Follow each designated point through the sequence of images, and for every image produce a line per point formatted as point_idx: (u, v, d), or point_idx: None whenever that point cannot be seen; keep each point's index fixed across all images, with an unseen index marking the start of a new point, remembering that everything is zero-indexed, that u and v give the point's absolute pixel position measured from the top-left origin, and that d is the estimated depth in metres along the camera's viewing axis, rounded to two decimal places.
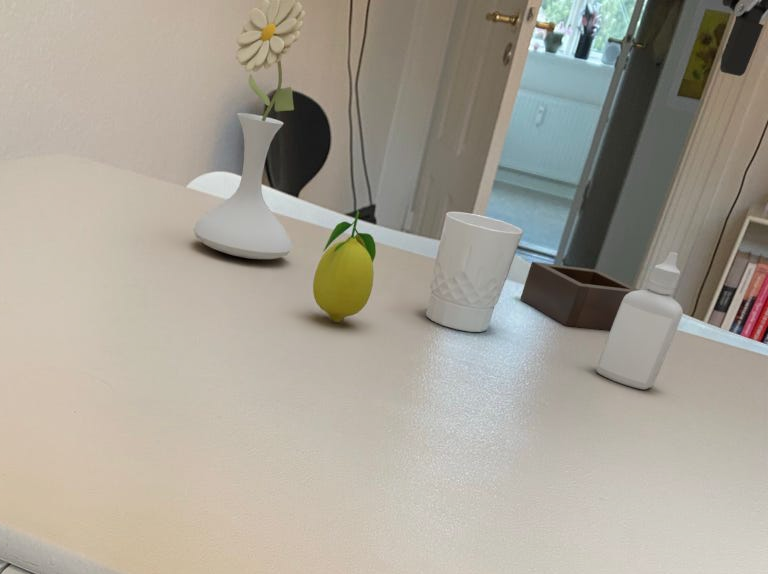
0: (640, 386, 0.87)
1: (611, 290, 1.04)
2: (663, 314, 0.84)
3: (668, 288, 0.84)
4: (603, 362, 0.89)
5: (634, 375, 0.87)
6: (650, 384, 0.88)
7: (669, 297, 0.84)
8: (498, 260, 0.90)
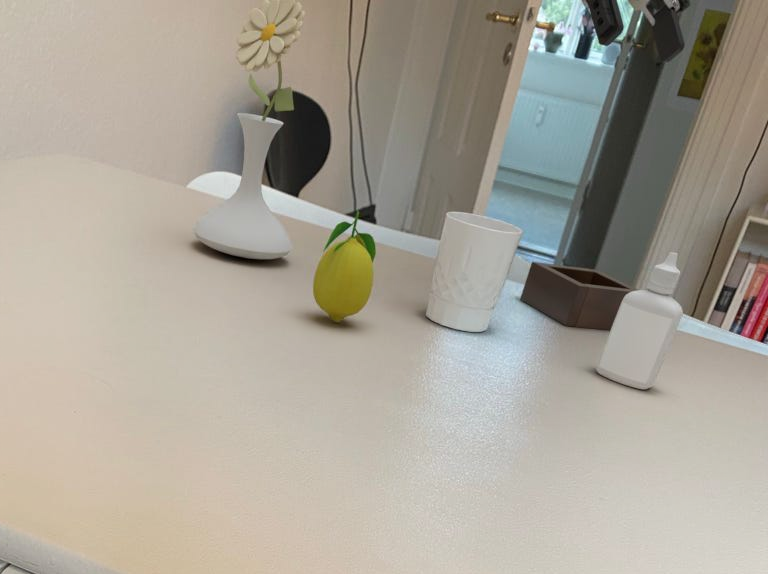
0: (640, 386, 0.87)
1: (611, 290, 1.04)
2: (663, 314, 0.84)
3: (668, 288, 0.84)
4: (603, 362, 0.89)
5: (634, 375, 0.87)
6: (650, 384, 0.88)
7: (669, 297, 0.84)
8: (498, 260, 0.90)
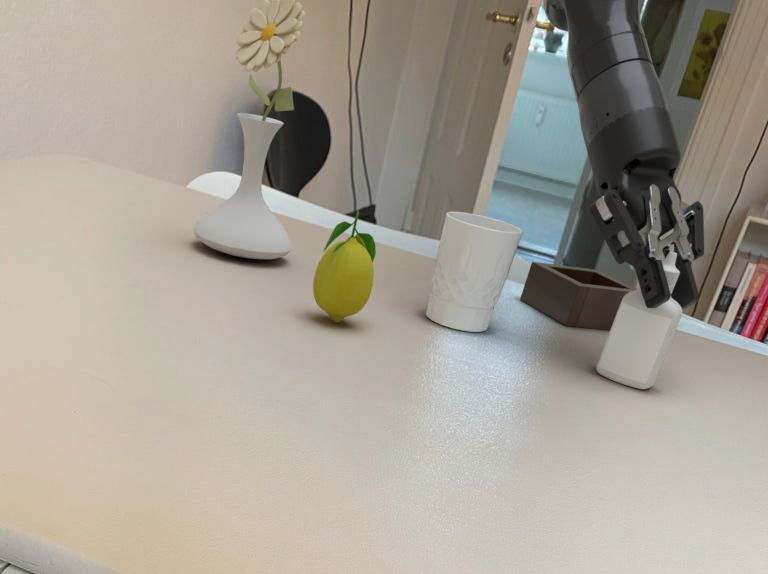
0: (640, 386, 0.87)
1: (611, 290, 1.04)
2: (663, 314, 0.84)
3: None
4: (603, 362, 0.89)
5: (634, 375, 0.87)
6: (650, 384, 0.88)
7: None
8: (498, 260, 0.90)
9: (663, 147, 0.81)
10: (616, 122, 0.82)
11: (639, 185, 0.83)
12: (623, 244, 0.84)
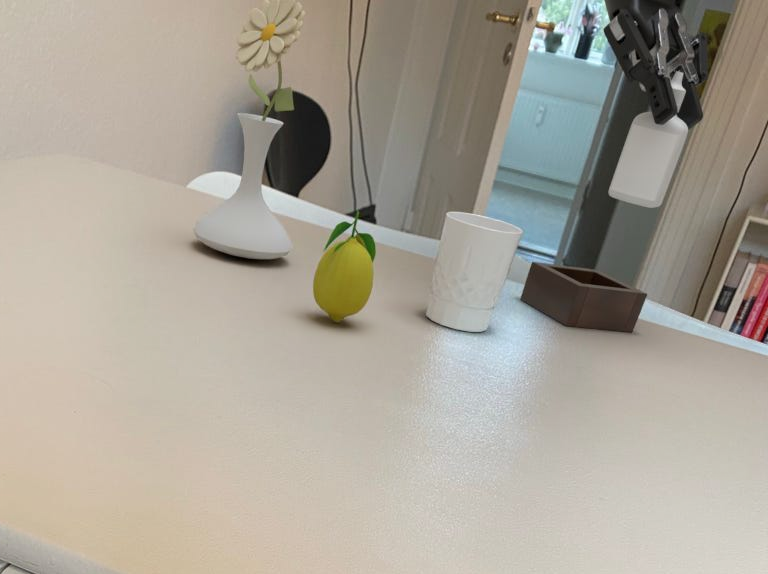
0: (649, 204, 0.95)
1: (611, 290, 1.04)
2: (670, 131, 0.91)
3: None
4: (615, 184, 0.96)
5: (644, 193, 0.95)
6: (658, 202, 0.95)
7: (675, 115, 0.92)
8: (498, 260, 0.90)
9: None
10: None
11: (649, 9, 0.90)
12: None
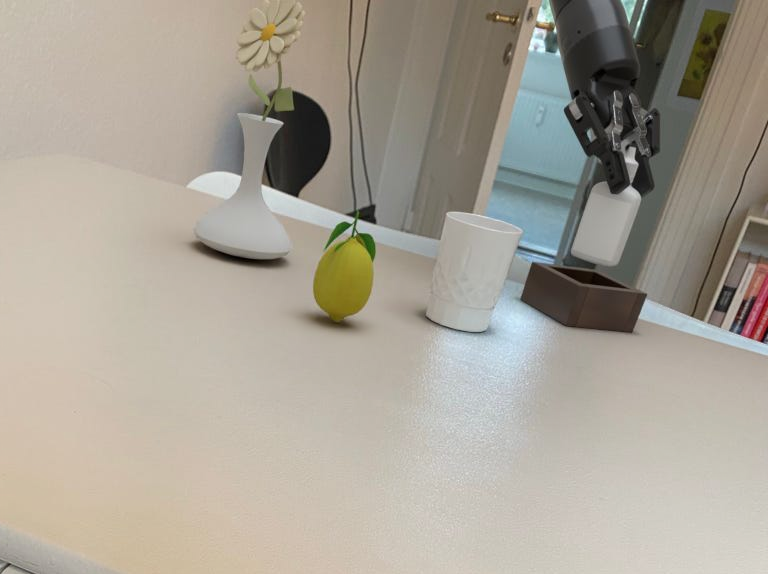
0: (607, 264, 1.05)
1: (611, 290, 1.04)
2: (624, 200, 1.01)
3: None
4: (576, 245, 1.06)
5: (602, 254, 1.04)
6: (615, 262, 1.05)
7: (629, 186, 1.01)
8: (498, 260, 0.90)
9: (624, 59, 0.98)
10: (586, 38, 0.99)
11: (605, 91, 1.00)
12: (592, 142, 1.01)
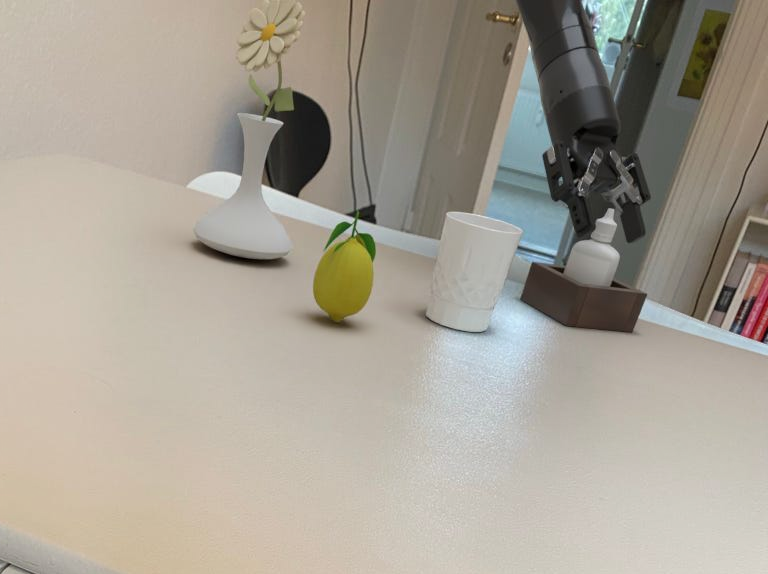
0: None
1: (611, 290, 1.04)
2: (603, 258, 1.05)
3: (607, 238, 1.04)
4: None
5: None
6: None
7: (608, 245, 1.05)
8: (498, 260, 0.90)
9: (605, 118, 1.01)
10: (568, 98, 1.02)
11: (586, 148, 1.03)
12: None
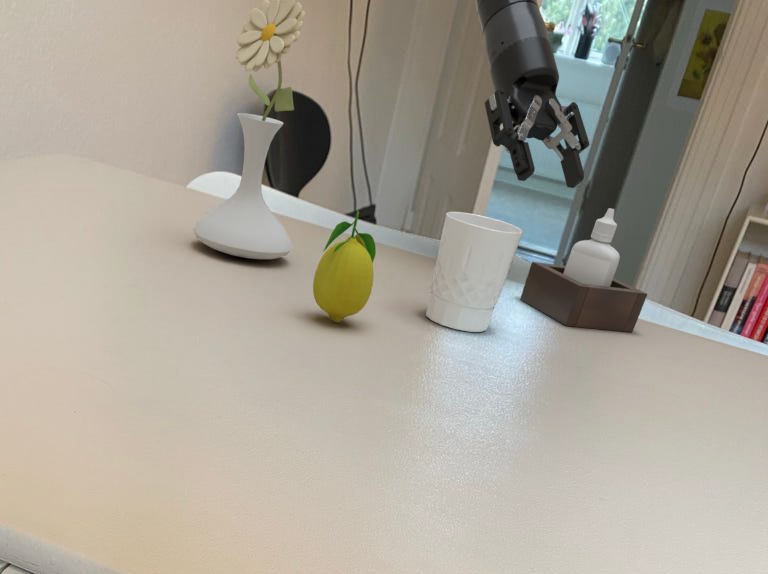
0: None
1: (611, 290, 1.04)
2: (603, 258, 1.05)
3: (607, 238, 1.04)
4: None
5: None
6: None
7: (608, 245, 1.05)
8: (498, 260, 0.90)
9: (543, 67, 1.08)
10: (508, 48, 1.09)
11: (527, 96, 1.09)
12: None
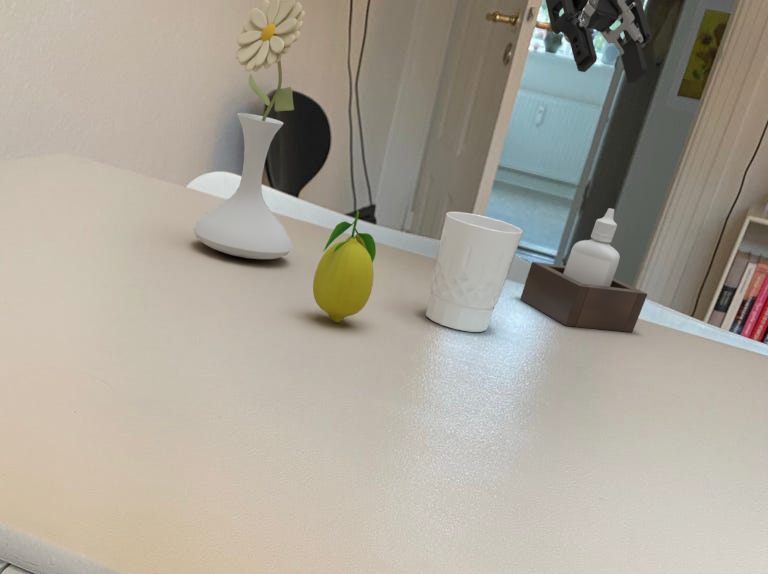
0: None
1: (611, 290, 1.04)
2: (603, 258, 1.05)
3: (607, 238, 1.04)
4: None
5: None
6: None
7: (608, 245, 1.05)
8: (498, 260, 0.90)
9: None
10: None
11: None
12: None
